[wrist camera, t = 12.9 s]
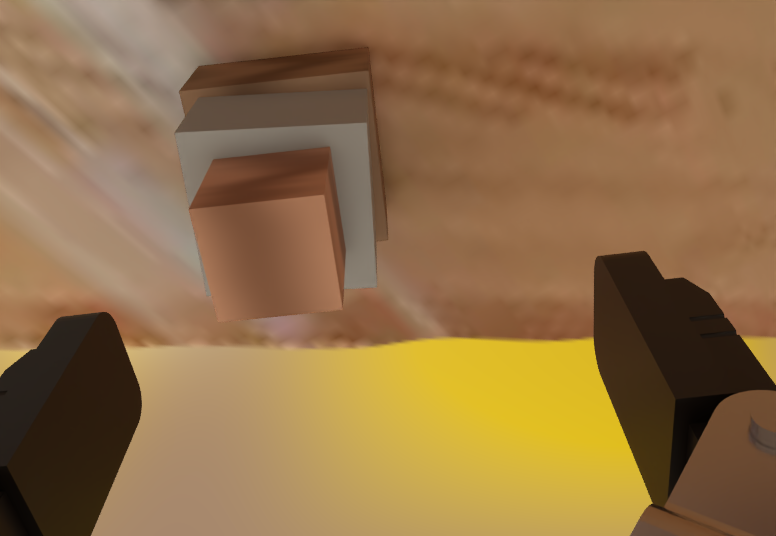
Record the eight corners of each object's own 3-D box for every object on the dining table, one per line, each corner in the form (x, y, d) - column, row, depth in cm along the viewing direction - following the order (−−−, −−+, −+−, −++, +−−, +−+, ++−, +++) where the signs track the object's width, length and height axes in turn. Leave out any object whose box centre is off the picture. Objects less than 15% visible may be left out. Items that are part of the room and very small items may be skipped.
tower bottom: (368, 45, 39) (368, 70, 35) (386, 201, 44) (388, 240, 39) (199, 64, 39) (179, 91, 35) (234, 216, 44) (219, 257, 39)
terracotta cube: (330, 146, 31) (324, 194, 27) (346, 250, 34) (342, 309, 29) (213, 159, 31) (188, 209, 27) (237, 261, 34) (218, 322, 30)
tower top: (366, 88, 35) (366, 122, 31) (376, 238, 39) (376, 287, 35) (198, 97, 35) (174, 132, 31) (224, 246, 39) (206, 296, 35)
